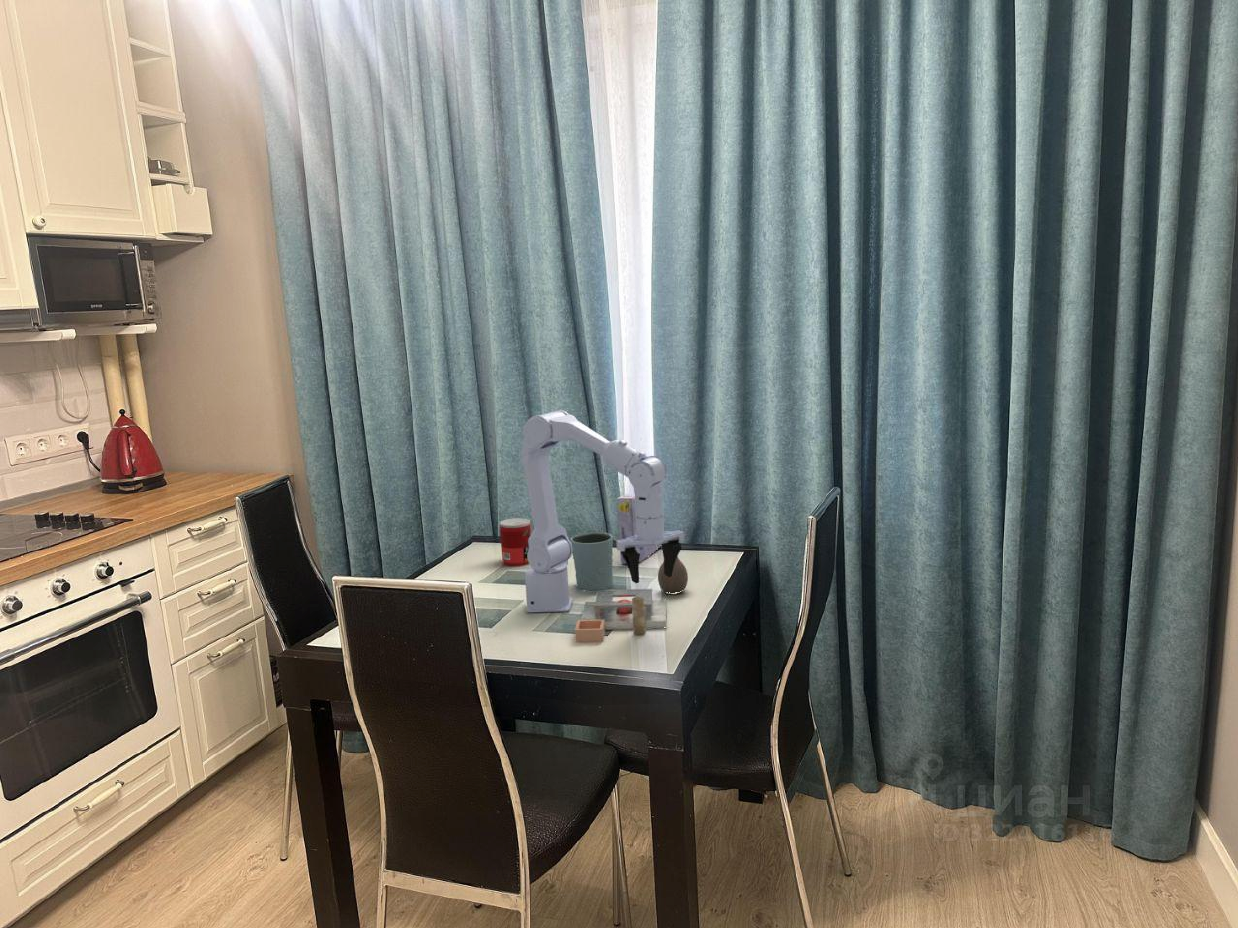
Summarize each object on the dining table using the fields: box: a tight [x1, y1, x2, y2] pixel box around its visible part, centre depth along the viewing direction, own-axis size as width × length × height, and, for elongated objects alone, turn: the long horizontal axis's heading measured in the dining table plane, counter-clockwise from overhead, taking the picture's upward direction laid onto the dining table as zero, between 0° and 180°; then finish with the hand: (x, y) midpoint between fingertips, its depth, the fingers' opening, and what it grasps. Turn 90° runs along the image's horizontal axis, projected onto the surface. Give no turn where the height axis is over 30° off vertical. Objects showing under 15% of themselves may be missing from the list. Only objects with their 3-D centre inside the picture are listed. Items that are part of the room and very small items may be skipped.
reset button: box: [617, 599, 631, 614], centre depth 196 cm, size 3×3×2 cm
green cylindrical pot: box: [569, 531, 614, 592], centre depth 218 cm, size 10×10×12 cm
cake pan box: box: [616, 490, 661, 565], centre depth 240 cm, size 19×5×18 cm, turn 154°
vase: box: [657, 555, 689, 593], centre depth 211 cm, size 7×7×9 cm
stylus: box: [631, 597, 646, 637], centre depth 187 cm, size 2×2×8 cm
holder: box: [574, 619, 606, 643], centre depth 187 cm, size 6×6×2 cm
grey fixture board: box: [580, 588, 668, 631], centre depth 196 cm, size 18×13×4 cm
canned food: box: [499, 517, 532, 567], centre depth 240 cm, size 8×8×11 cm
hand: (651, 578), depth 191 cm, fingers open, 7 cm apart
